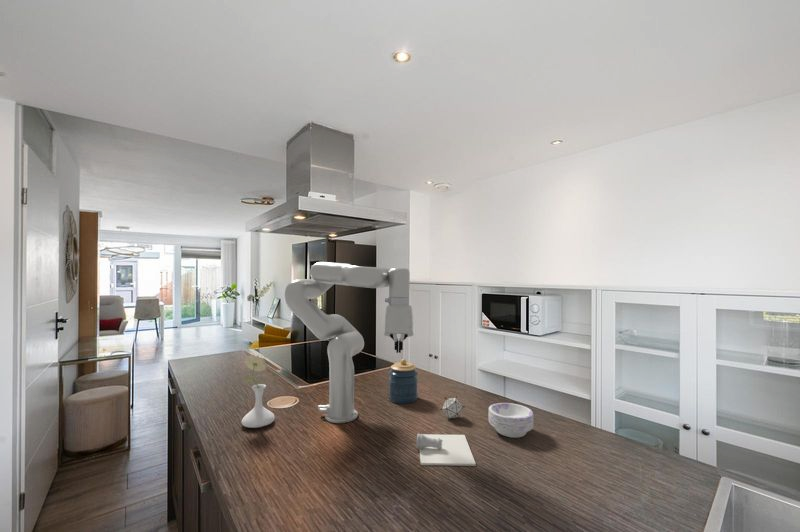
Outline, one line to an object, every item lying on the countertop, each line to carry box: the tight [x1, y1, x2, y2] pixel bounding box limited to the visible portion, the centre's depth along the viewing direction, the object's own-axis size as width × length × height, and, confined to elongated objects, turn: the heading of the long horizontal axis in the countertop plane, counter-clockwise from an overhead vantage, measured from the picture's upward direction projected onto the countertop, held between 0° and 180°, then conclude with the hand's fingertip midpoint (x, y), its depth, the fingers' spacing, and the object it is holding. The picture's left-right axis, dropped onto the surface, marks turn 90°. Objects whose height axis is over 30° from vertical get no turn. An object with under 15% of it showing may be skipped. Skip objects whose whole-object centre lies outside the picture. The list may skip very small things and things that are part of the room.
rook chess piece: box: [415, 432, 442, 450], centre depth 109 cm, size 4×4×8 cm
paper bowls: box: [488, 402, 534, 439], centre depth 122 cm, size 15×15×8 cm
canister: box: [388, 358, 419, 405], centre depth 154 cm, size 13×13×18 cm
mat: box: [418, 433, 477, 467], centre depth 110 cm, size 16×18×1 cm
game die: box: [439, 395, 466, 421], centre depth 134 cm, size 9×8×10 cm
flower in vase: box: [241, 354, 276, 429], centre depth 127 cm, size 13×11×25 cm
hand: (398, 351), depth 126 cm, fingers closed
